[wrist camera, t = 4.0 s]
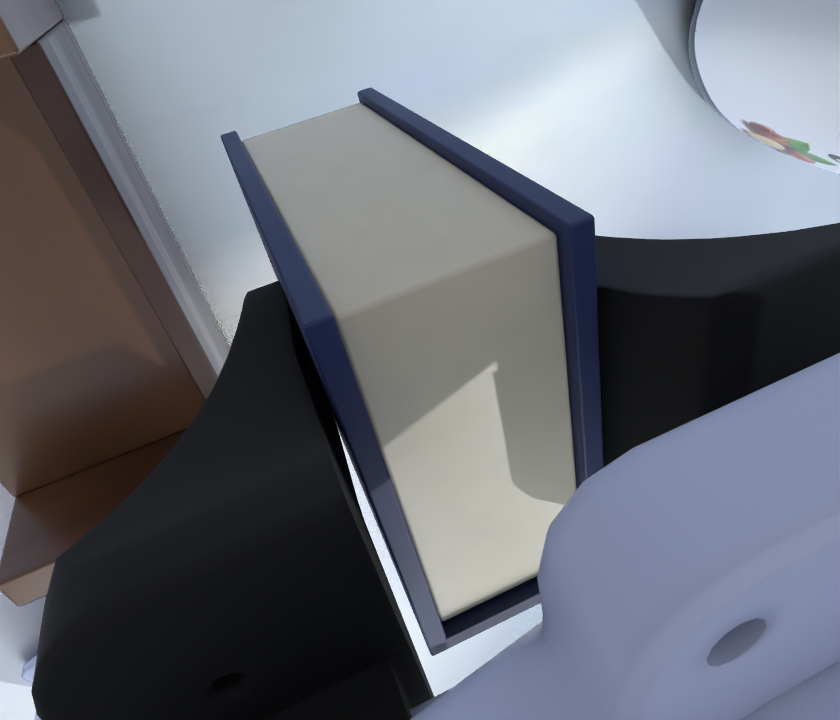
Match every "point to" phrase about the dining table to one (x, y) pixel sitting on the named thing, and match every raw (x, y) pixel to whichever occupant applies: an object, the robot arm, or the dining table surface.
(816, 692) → the robot arm
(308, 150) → the book
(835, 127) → the spread jar
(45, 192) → the shelf
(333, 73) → the dining table surface
